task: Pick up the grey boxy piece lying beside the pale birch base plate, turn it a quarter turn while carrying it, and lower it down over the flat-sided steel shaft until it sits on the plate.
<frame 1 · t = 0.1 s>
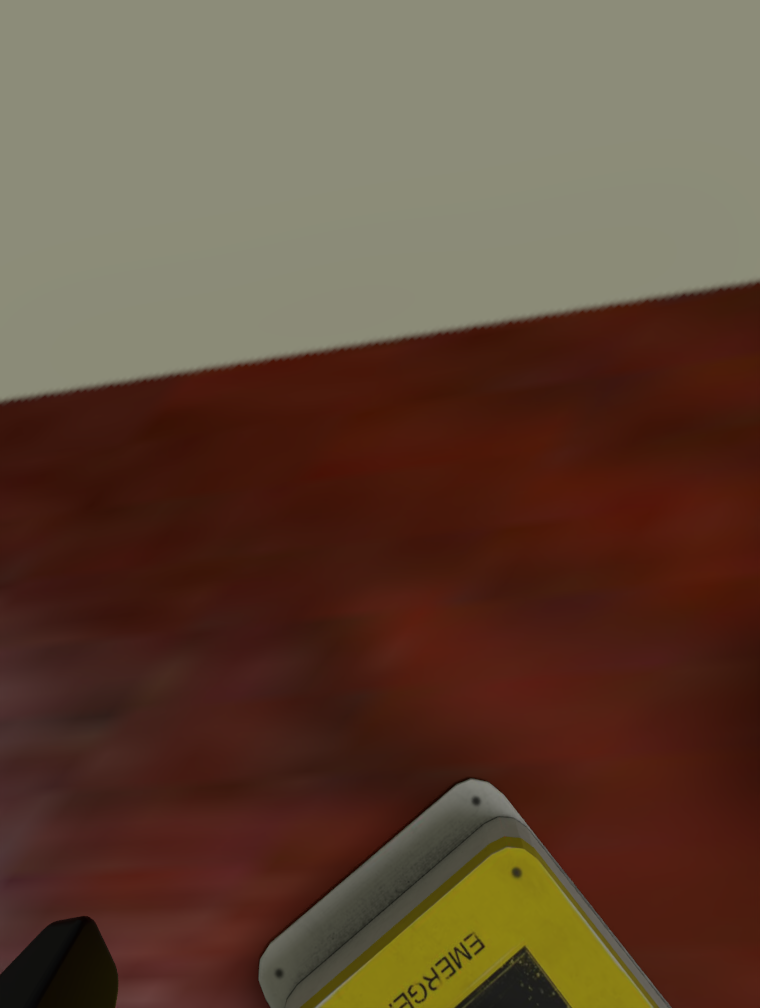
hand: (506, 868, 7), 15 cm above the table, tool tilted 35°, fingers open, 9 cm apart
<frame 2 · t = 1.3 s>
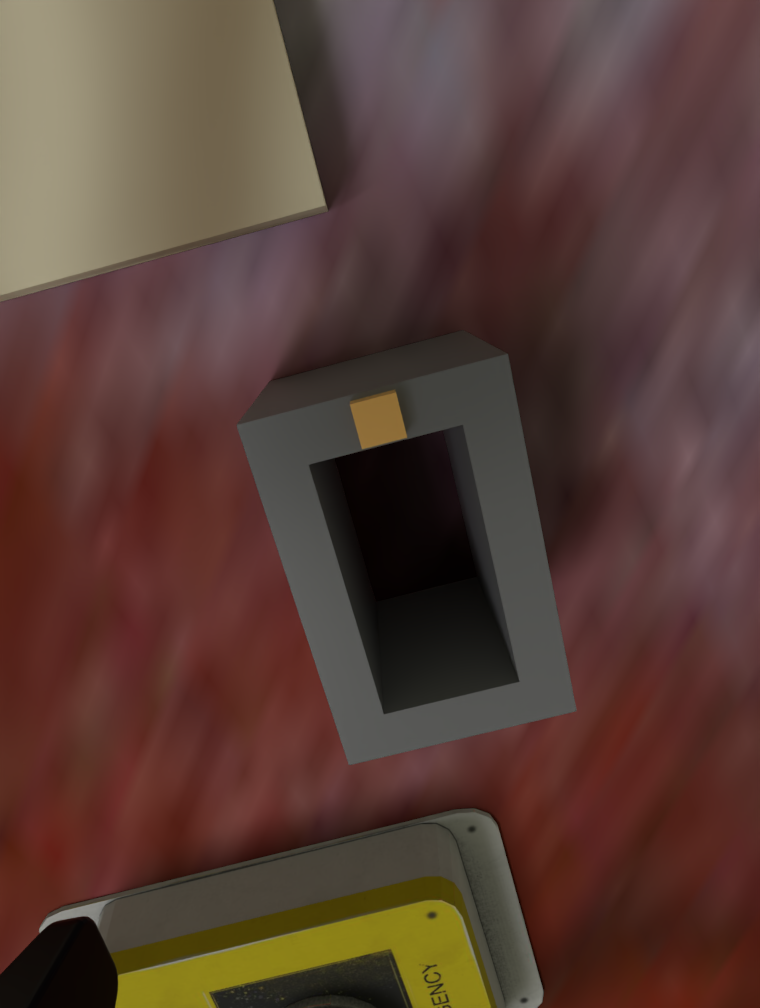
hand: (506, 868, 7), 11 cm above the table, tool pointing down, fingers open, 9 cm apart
emergency button: (302, 943, 23), on the table
grey boxy piece: (402, 497, 18), on the table
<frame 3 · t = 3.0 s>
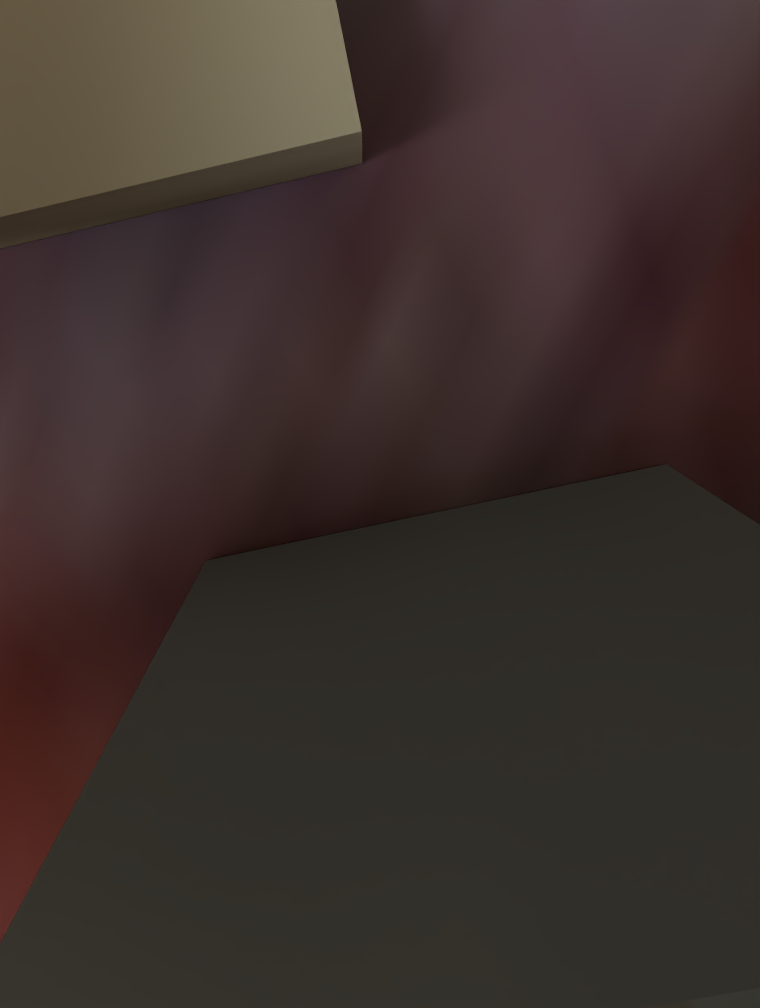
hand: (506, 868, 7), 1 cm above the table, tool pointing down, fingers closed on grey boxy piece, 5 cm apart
grey boxy piece: (489, 797, 8), on the table, touching gripper
when the fingers open (3 cm above the table, at t = 7.3 s): grey boxy piece stays where it is, resting on shaft plate.
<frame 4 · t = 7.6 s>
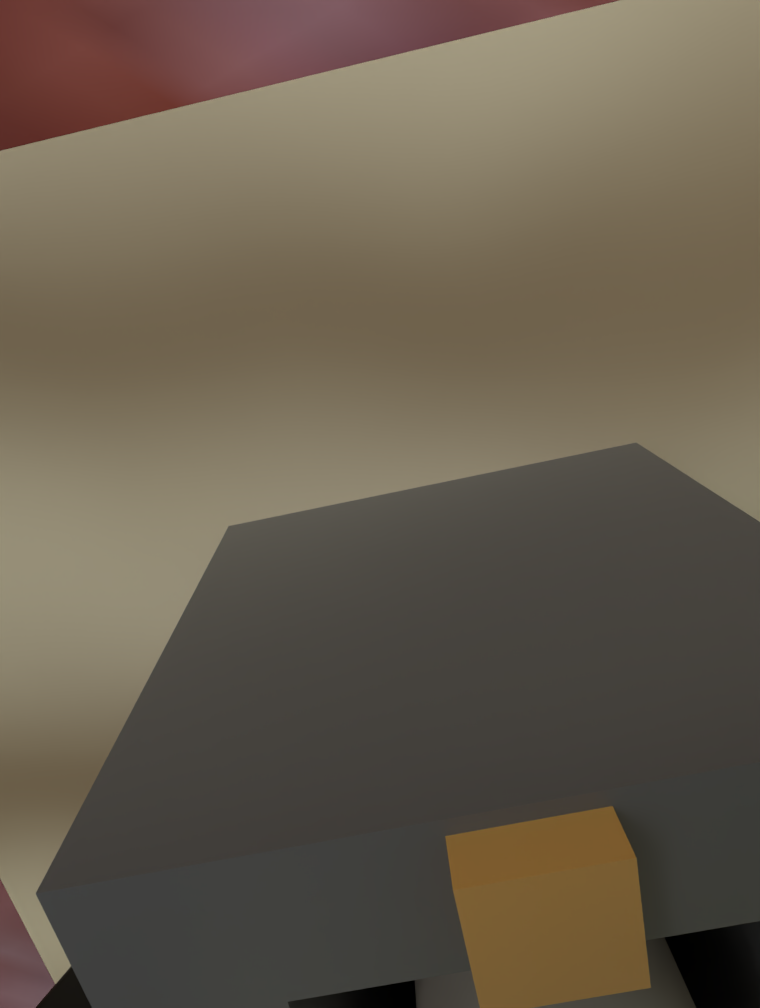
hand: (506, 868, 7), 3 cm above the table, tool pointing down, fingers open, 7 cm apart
shaft plate: (464, 681, 11), on the table
grey boxy piece: (479, 744, 9), point 1 cm above the table, touching shaft plate
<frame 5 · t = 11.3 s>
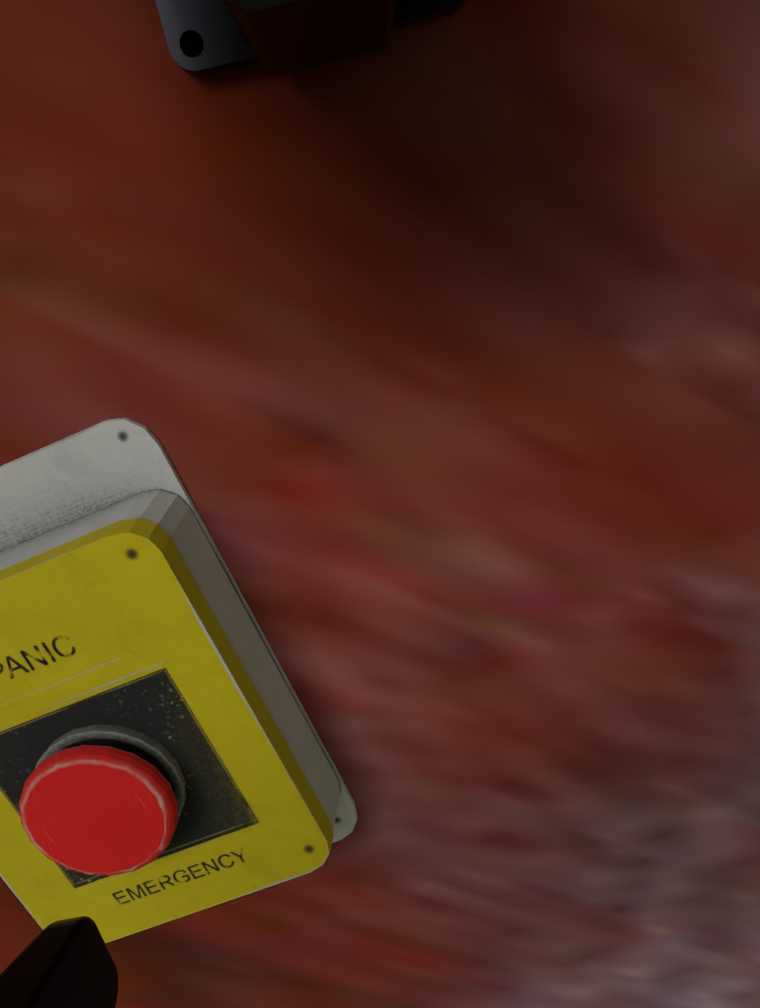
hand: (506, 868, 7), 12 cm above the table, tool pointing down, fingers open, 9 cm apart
emergency button: (133, 681, 21), on the table
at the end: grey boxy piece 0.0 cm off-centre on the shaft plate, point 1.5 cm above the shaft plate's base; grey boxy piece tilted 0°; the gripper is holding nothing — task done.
